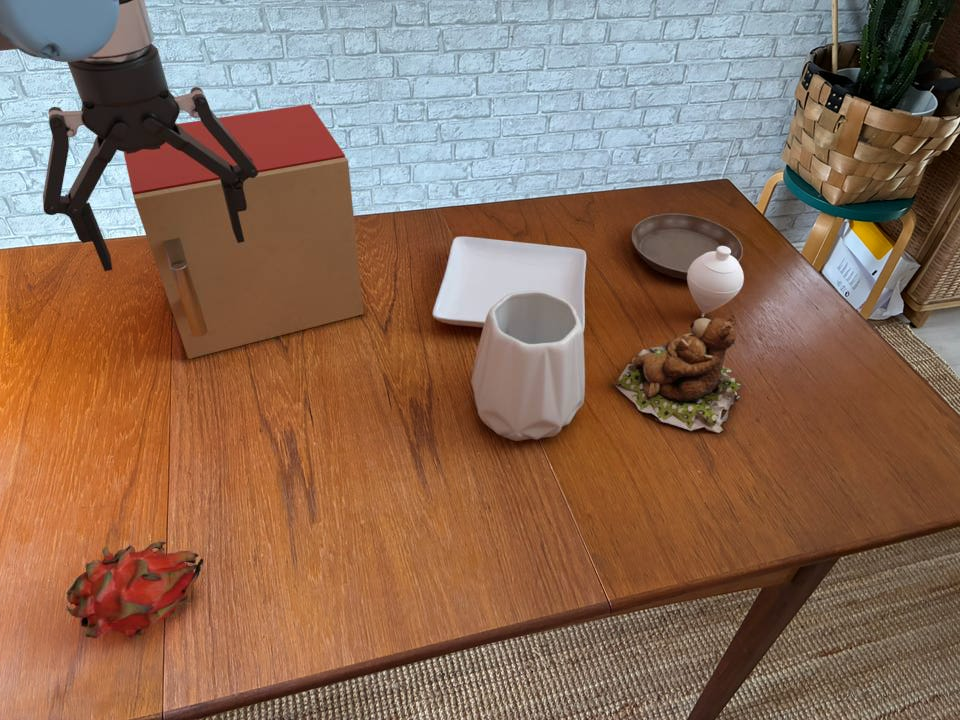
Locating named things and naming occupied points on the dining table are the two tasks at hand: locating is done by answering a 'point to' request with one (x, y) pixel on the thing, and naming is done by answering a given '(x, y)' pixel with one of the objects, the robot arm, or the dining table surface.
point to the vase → (529, 366)
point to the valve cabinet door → (256, 255)
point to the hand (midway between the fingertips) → (175, 249)
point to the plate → (506, 277)
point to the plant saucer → (680, 242)
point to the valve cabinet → (260, 134)
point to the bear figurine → (685, 377)
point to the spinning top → (714, 279)
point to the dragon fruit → (132, 589)
